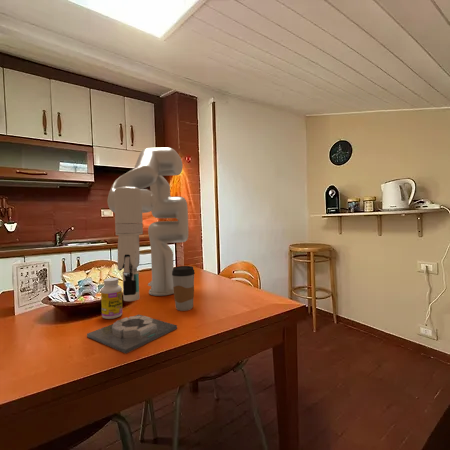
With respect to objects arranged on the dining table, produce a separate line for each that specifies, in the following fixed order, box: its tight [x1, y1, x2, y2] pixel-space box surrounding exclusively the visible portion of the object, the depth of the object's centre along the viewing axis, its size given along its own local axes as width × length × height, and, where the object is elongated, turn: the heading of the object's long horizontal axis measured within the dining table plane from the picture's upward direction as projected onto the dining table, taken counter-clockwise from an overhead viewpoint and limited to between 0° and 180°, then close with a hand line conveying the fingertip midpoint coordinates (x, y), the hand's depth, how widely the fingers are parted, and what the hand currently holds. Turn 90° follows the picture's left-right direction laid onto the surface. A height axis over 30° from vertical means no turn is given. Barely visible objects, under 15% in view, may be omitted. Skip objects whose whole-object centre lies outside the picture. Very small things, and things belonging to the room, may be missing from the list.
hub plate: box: [86, 314, 178, 354], centre depth 83 cm, size 18×18×3 cm
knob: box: [122, 269, 140, 302], centre depth 82 cm, size 5×4×8 cm
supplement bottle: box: [100, 277, 123, 320], centre depth 97 cm, size 7×7×13 cm
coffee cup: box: [172, 265, 195, 312], centre depth 103 cm, size 8×8×15 cm
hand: (131, 291), depth 82 cm, fingers closed on knob, 4 cm apart
